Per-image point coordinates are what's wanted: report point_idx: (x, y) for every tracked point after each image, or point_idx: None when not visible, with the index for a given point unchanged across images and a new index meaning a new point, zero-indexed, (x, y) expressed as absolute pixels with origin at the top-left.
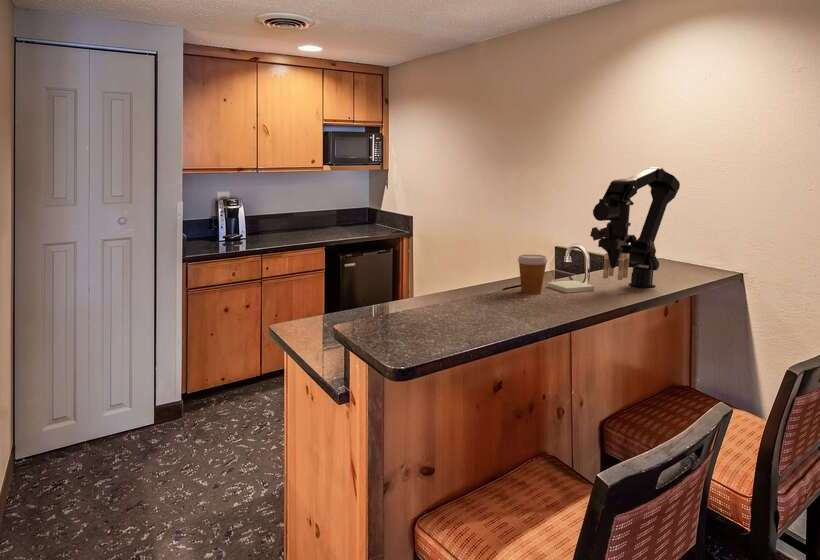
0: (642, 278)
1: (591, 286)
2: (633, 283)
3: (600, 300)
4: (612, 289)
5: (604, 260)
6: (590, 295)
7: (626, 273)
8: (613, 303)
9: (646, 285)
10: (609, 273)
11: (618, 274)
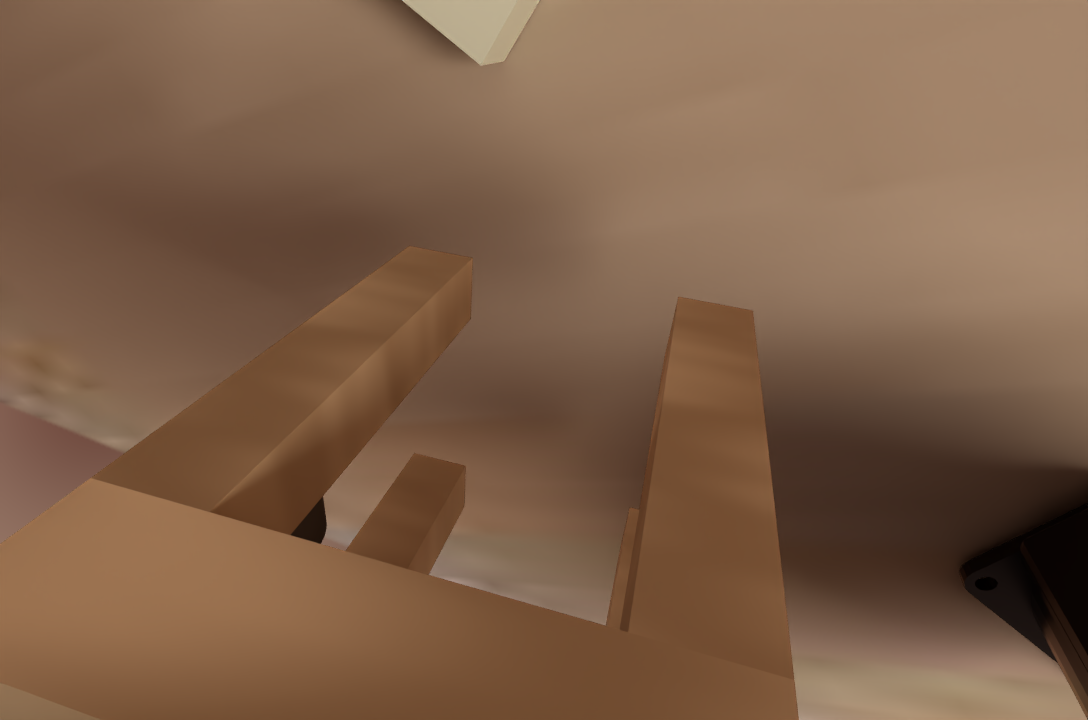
0: (1080, 683)
1: (435, 26)
2: (1078, 527)
3: (98, 262)
4: (725, 279)
5: (151, 447)
6: (201, 111)
7: (610, 602)
8: (100, 372)
9: (1043, 634)
10: (671, 338)
11: (377, 513)
